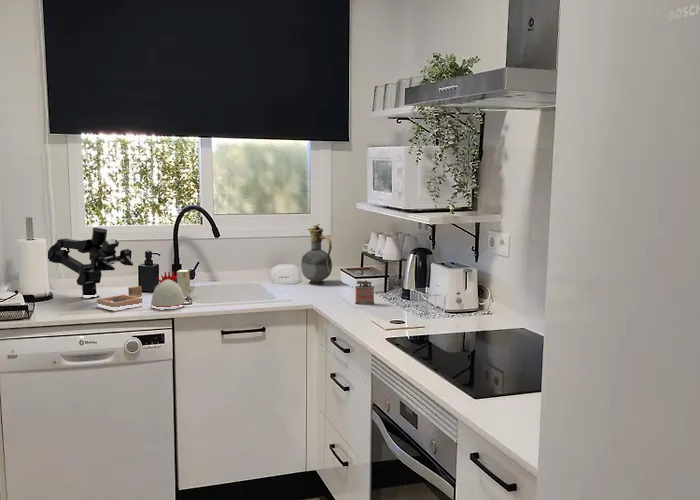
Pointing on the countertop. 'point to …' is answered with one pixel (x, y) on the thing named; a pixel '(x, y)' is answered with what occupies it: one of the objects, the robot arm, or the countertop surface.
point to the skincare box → (184, 281)
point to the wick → (135, 291)
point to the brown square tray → (119, 300)
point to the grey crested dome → (167, 292)
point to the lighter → (364, 293)
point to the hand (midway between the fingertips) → (123, 266)
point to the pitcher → (317, 258)
